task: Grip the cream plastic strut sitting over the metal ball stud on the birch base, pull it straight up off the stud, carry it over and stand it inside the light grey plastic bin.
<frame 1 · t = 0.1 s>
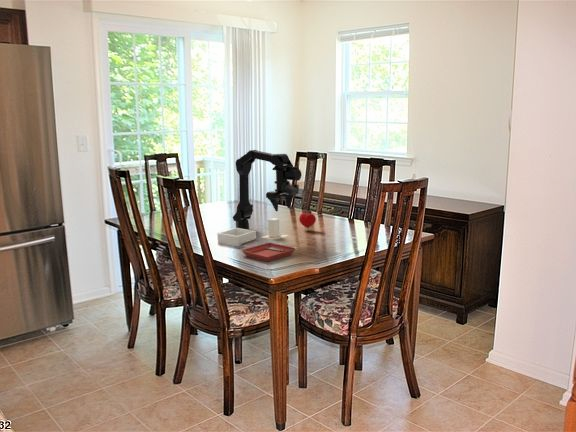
hand: (282, 209, 286), 15 cm above the table, tool pointing down, fingers open, 9 cm apart
stud base: (274, 238, 288), on the table
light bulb: (307, 232, 299), on the table
strut: (274, 236, 287), point 1 cm above the table, touching stud base
plant saucer: (268, 256, 257), on the table
grey bin: (237, 241, 283), on the table
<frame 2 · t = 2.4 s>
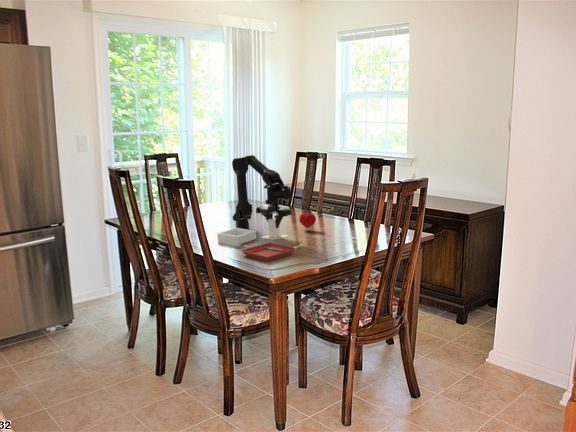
hand: (273, 227, 286), 6 cm above the table, tool pointing down, fingers closed on strut, 4 cm apart
strut: (274, 236, 287), point 1 cm above the table, touching gripper, stud base
everything else where it was.
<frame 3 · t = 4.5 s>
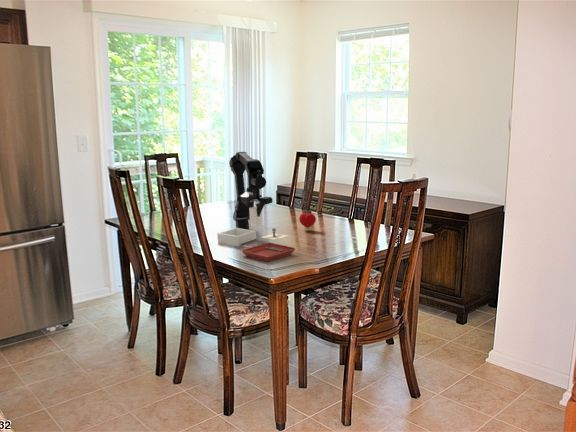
hand: (255, 216, 283), 12 cm above the table, tool pointing down, fingers closed on strut, 4 cm apart
strut: (255, 224, 284), point 8 cm above the table, touching gripper
everything else where it was.
when the fingers open (7 cm above the table, at t = 6.8 s): strut drops 1 cm, resting on grey bin.
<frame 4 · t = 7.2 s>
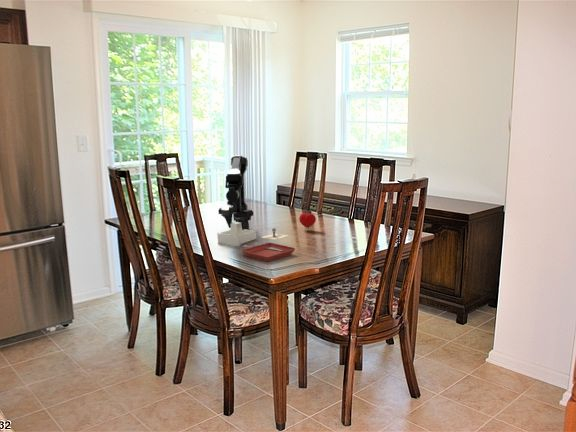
hand: (236, 228, 282), 7 cm above the table, tool pointing down, fingers open, 8 cm apart
strut: (237, 240, 283), point 1 cm above the table, touching grey bin
everything else where it was.
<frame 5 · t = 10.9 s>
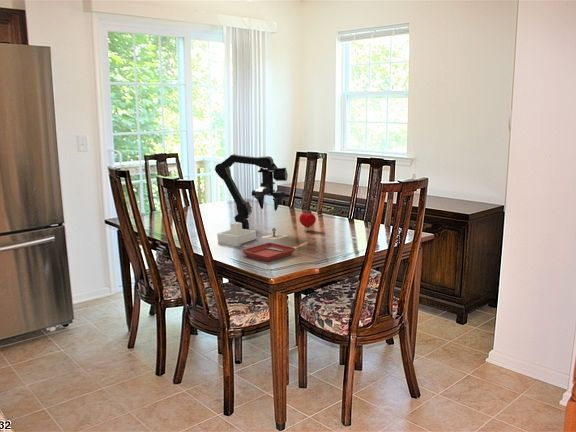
hand: (268, 209, 299), 12 cm above the table, tool pointing down, fingers open, 9 cm apart
nothing on the table moved.
at the end: strut inside the target area on the grey bin (0.0 cm from its centre), point 0.6 cm above the grey bin's base; strut tilted 0°; the gripper is holding nothing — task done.
